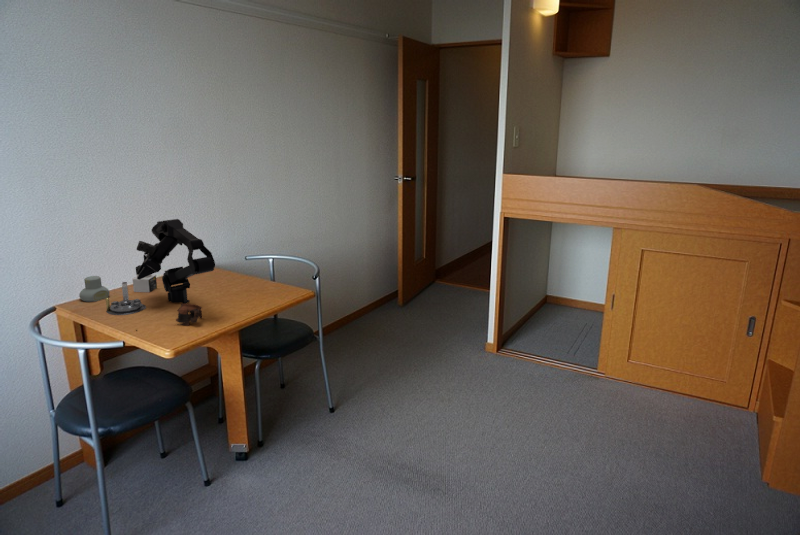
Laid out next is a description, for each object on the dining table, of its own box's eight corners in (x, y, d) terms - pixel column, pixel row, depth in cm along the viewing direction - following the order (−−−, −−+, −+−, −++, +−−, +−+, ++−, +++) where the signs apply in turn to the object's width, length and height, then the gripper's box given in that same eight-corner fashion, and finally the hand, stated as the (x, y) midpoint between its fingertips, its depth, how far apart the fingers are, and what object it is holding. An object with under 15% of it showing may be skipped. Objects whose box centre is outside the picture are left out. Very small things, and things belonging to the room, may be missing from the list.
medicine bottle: (150, 294, 239) (147, 268, 236) (133, 294, 239) (130, 267, 236) (157, 289, 246) (155, 263, 242) (141, 289, 246) (138, 263, 243)
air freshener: (101, 295, 237) (98, 273, 234) (113, 299, 233) (111, 276, 230) (76, 302, 227) (73, 279, 225) (89, 306, 224) (85, 282, 221)
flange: (153, 306, 224) (151, 292, 223) (133, 319, 211) (132, 303, 209) (119, 305, 226) (117, 290, 224) (97, 317, 212) (95, 301, 210)
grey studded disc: (141, 310, 215) (139, 290, 213) (110, 314, 211) (107, 294, 209) (141, 299, 228) (139, 280, 226) (111, 302, 223) (109, 283, 221)
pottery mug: (169, 324, 208) (174, 302, 210) (192, 329, 215) (196, 308, 217) (186, 324, 200) (191, 301, 202) (209, 329, 207) (213, 307, 209)
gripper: (147, 229, 228) (121, 258, 226) (148, 238, 211) (119, 269, 210) (170, 246, 233) (144, 274, 231) (172, 256, 217) (144, 287, 215)
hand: (138, 276), depth 222 cm, fingers open, 8 cm apart
